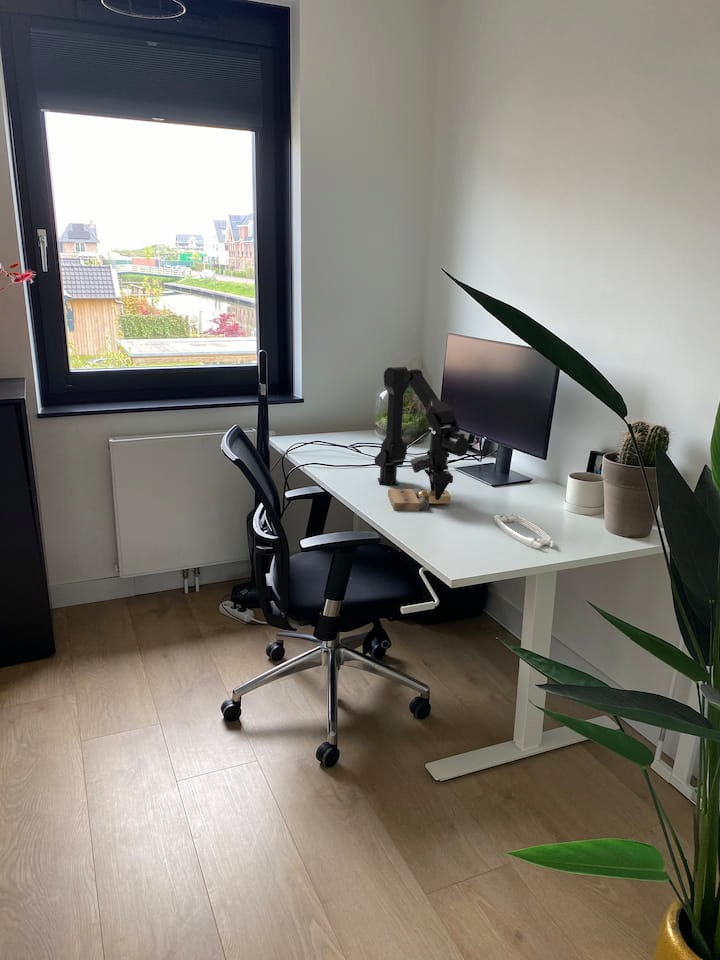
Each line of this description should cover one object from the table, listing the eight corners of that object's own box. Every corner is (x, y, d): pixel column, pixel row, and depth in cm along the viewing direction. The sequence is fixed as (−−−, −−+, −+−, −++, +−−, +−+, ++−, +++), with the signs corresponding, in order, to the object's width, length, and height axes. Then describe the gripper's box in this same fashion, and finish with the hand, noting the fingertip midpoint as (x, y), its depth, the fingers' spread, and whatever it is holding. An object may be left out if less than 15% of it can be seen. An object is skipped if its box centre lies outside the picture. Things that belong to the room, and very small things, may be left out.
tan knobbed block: (446, 497, 232) (447, 489, 231) (450, 503, 226) (451, 494, 225) (416, 497, 231) (416, 488, 230) (419, 503, 225) (419, 494, 224)
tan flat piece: (393, 510, 221) (394, 501, 220) (387, 495, 234) (388, 487, 233) (428, 510, 222) (429, 501, 221) (420, 496, 235) (421, 488, 234)
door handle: (530, 553, 194) (486, 521, 216) (561, 550, 197) (515, 518, 219) (531, 543, 193) (487, 512, 215) (563, 540, 196) (516, 510, 218)
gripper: (408, 440, 232) (405, 487, 236) (418, 456, 214) (414, 505, 219) (442, 441, 233) (439, 487, 238) (455, 456, 215) (451, 506, 220)
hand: (435, 496), depth 228 cm, fingers closed on tan knobbed block, 6 cm apart
